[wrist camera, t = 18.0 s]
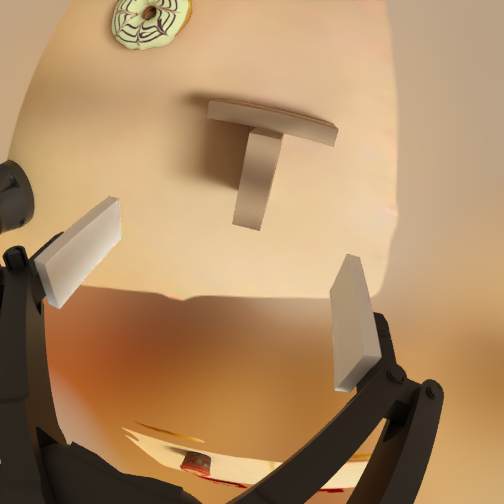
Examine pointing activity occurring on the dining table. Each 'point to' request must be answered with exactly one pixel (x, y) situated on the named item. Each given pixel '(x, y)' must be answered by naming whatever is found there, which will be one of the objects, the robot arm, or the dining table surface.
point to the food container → (196, 464)
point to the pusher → (264, 150)
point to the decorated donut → (149, 22)
